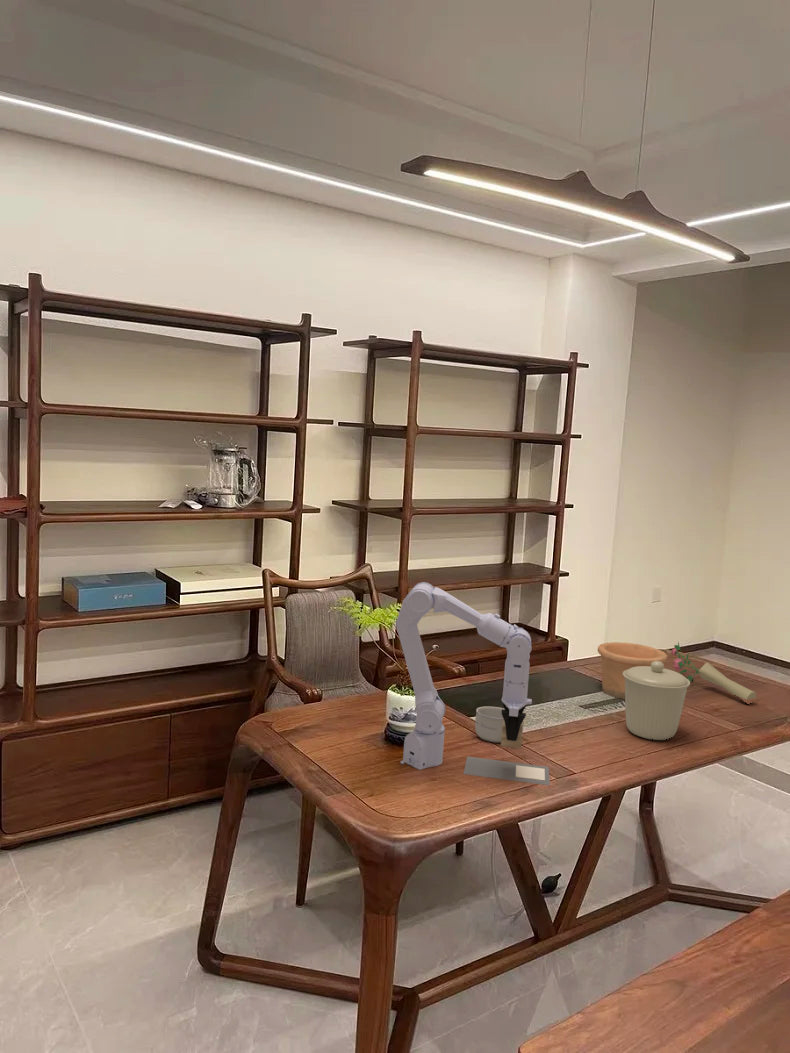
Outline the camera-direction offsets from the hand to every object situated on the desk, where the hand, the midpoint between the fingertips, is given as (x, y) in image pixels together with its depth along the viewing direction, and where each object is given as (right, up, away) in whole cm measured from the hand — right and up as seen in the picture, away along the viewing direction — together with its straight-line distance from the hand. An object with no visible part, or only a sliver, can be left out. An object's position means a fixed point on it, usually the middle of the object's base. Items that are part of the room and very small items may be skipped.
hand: (511, 736), depth 192 cm
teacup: (-1, -8, +22) cm, 23 cm away
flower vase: (+79, -6, +84) cm, 115 cm away
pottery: (+49, -5, +74) cm, 89 cm away
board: (-1, -9, +1) cm, 10 cm away
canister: (+44, -9, +36) cm, 58 cm away
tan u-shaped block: (0, -2, 0) cm, 2 cm away
